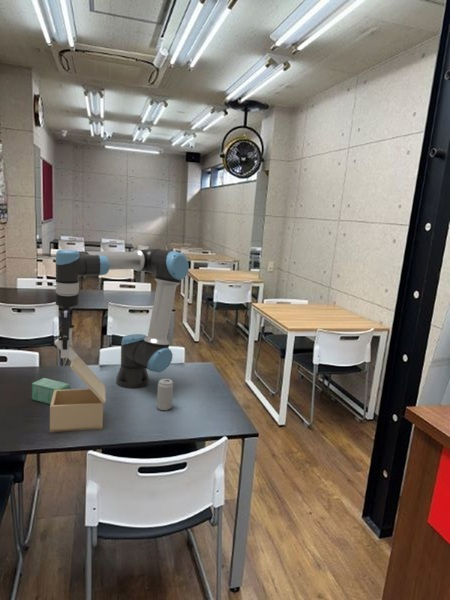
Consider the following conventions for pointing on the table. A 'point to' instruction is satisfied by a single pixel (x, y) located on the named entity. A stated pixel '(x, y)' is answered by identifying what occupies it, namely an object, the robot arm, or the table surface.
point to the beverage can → (165, 394)
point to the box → (46, 389)
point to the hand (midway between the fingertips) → (66, 351)
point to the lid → (85, 373)
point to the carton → (75, 410)
